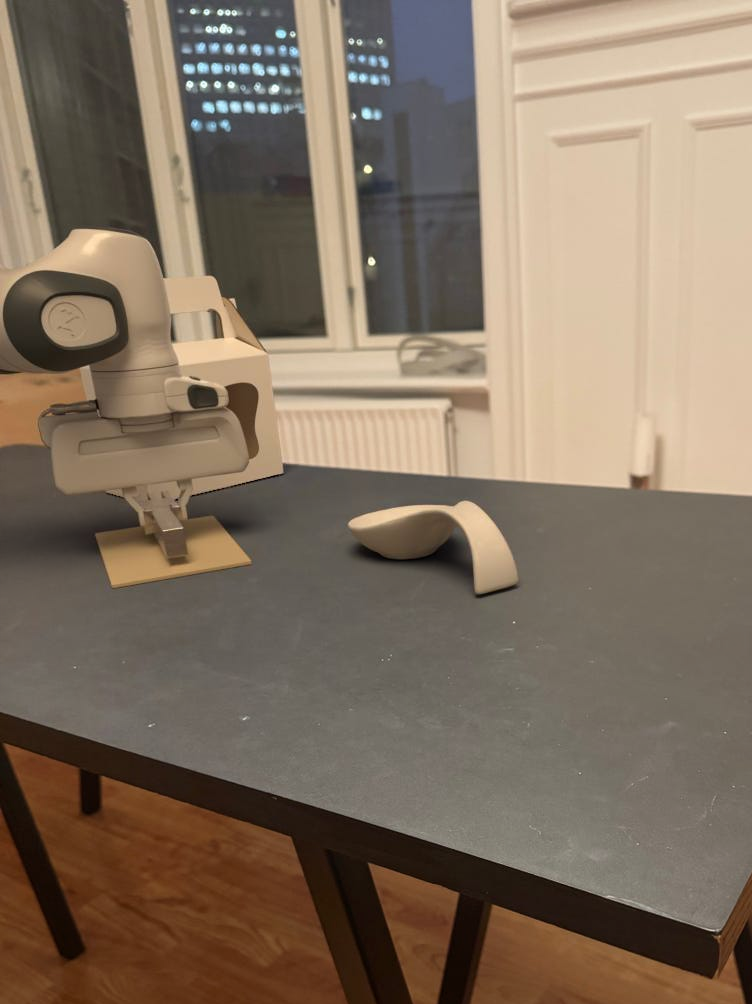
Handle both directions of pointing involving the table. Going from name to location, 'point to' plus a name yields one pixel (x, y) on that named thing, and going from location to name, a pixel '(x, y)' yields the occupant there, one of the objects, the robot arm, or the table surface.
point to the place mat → (145, 561)
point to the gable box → (222, 382)
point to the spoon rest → (440, 538)
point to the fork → (165, 524)
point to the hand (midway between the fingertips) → (164, 522)
